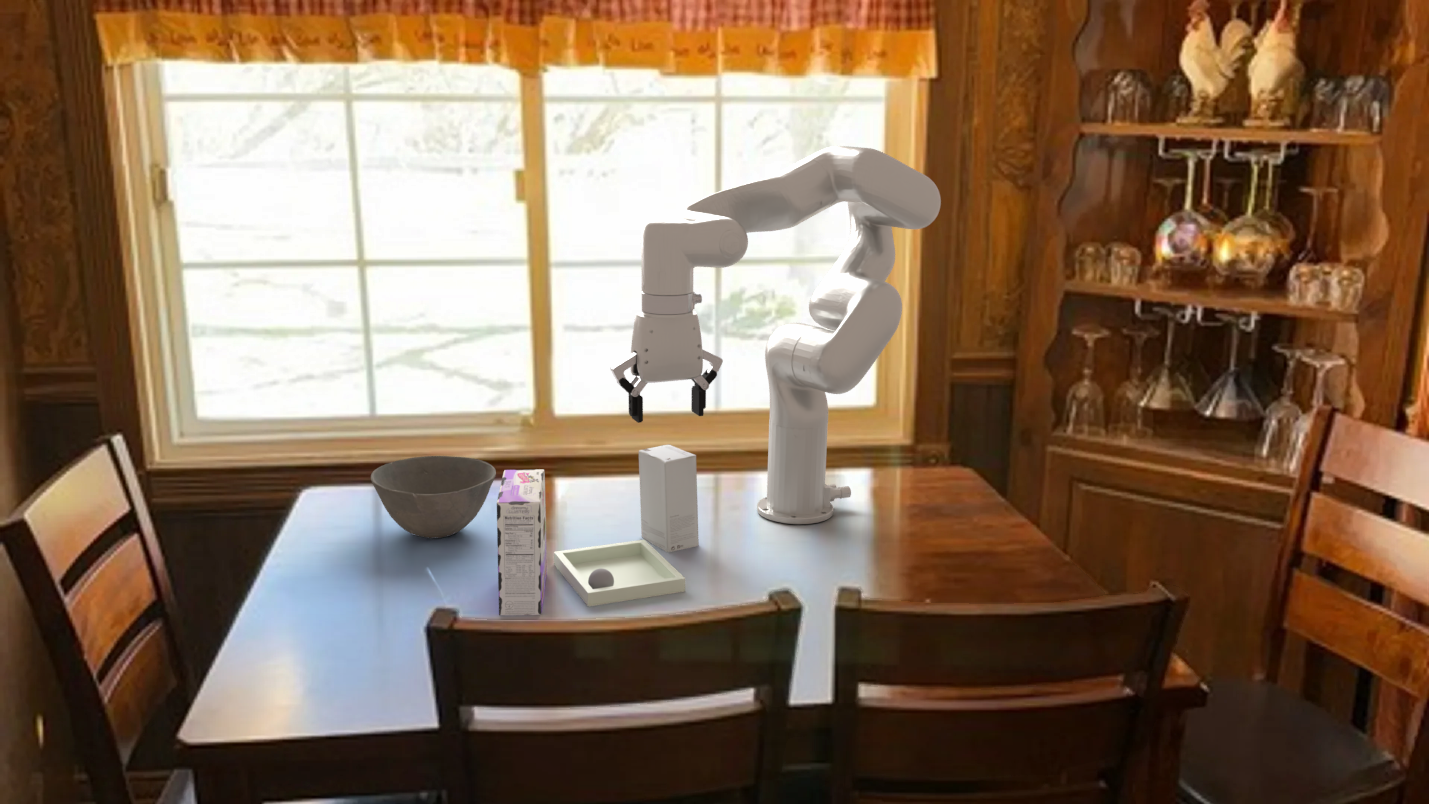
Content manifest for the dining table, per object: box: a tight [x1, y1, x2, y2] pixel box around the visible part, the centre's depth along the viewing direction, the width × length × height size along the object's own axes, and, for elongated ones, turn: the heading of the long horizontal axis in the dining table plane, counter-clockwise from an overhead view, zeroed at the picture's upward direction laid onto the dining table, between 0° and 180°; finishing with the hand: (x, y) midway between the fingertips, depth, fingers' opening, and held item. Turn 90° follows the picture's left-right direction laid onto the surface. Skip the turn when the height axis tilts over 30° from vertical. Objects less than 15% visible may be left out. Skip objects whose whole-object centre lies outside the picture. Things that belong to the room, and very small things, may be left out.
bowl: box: [370, 455, 497, 539], centre depth 189 cm, size 19×19×10 cm
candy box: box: [496, 468, 548, 616], centre depth 165 cm, size 14×6×16 cm, turn 5°
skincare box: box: [638, 443, 699, 553], centre depth 186 cm, size 8×6×15 cm
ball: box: [588, 568, 614, 589], centre depth 168 cm, size 4×4×4 cm
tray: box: [553, 538, 686, 607], centre depth 173 cm, size 14×16×2 cm
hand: (667, 417), depth 183 cm, fingers open, 9 cm apart
